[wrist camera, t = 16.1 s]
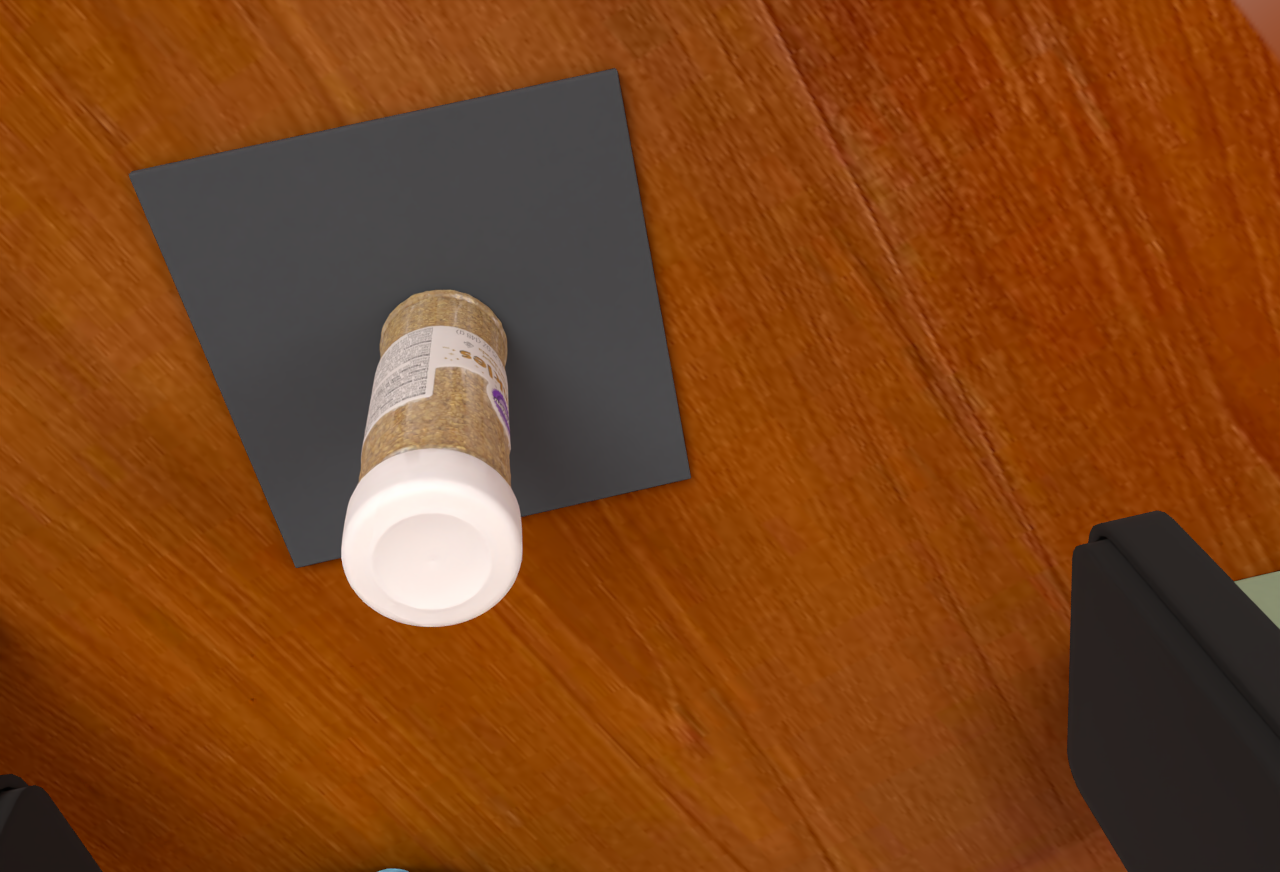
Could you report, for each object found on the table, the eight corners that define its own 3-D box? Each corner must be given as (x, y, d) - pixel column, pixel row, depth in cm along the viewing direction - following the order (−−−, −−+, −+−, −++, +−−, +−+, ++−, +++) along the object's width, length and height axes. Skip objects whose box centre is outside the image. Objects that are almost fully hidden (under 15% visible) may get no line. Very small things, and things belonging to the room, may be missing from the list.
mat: (615, 67, 35) (617, 70, 35) (689, 473, 43) (691, 478, 43) (131, 171, 35) (127, 174, 34) (297, 562, 43) (295, 568, 42)
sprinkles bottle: (531, 358, 39) (558, 579, 28) (428, 421, 40) (412, 661, 28) (458, 259, 37) (455, 452, 26) (350, 327, 38) (299, 546, 26)
